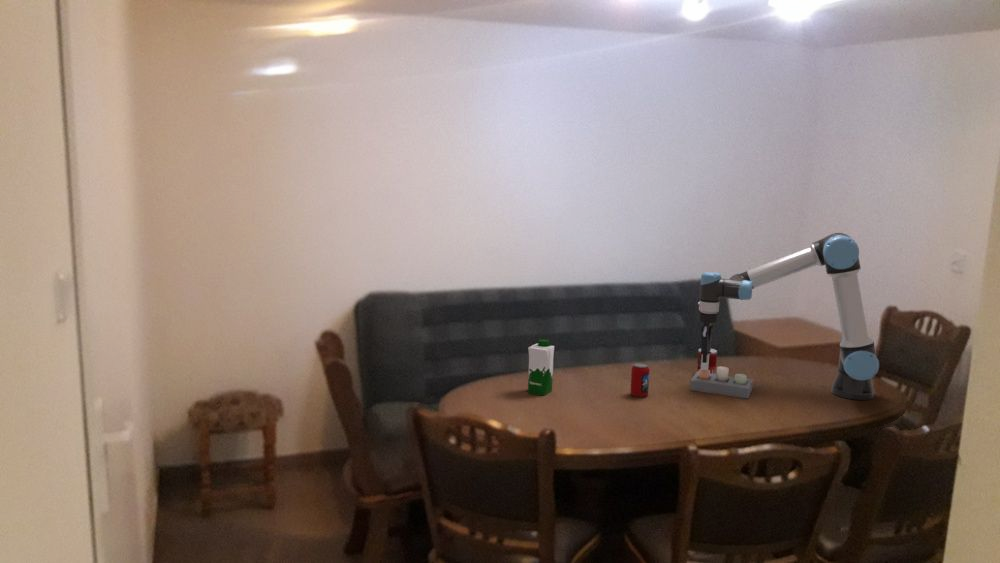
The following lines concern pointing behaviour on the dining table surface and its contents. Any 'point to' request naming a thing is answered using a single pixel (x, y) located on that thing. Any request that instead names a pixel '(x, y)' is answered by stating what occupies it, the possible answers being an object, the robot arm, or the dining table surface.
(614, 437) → the dining table surface
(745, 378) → the button sage
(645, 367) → the beverage can
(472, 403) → the dining table surface
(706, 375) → the button terracotta
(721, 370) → the button cream
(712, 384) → the console
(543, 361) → the milk carton
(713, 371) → the canned food
